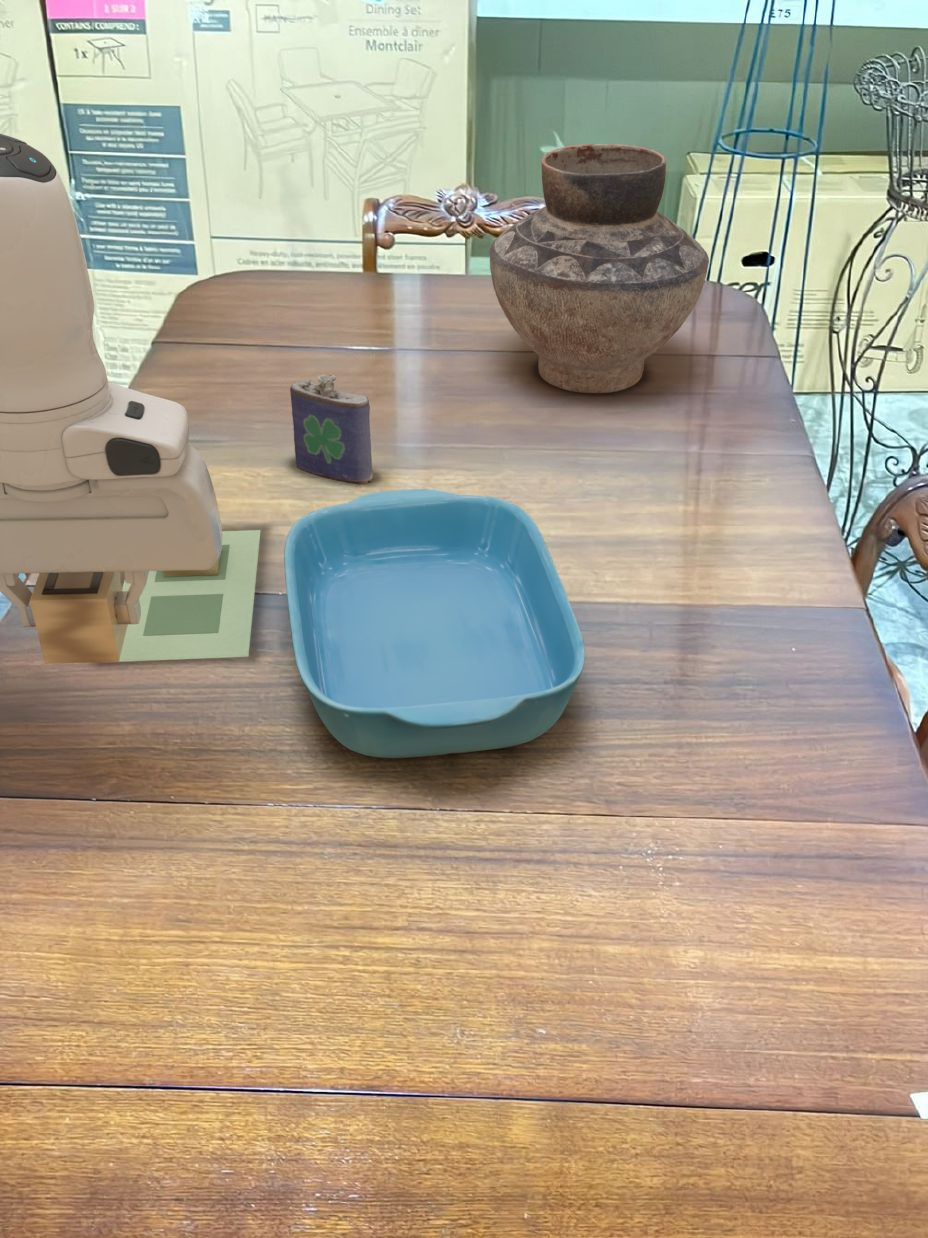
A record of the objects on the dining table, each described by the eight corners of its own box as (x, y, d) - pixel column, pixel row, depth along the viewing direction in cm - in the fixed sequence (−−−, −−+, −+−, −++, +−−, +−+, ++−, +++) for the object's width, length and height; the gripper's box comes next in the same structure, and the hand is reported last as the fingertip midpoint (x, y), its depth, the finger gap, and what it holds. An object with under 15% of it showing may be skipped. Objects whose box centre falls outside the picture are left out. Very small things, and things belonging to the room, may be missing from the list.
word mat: (104, 666, 105) (103, 661, 104) (136, 537, 121) (135, 533, 121) (249, 660, 105) (248, 655, 105) (261, 533, 122) (260, 529, 122)
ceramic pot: (445, 377, 151) (443, 159, 135) (570, 321, 165) (582, 118, 149) (613, 436, 139) (633, 204, 123) (733, 371, 153) (765, 155, 137)
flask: (378, 480, 130) (372, 378, 123) (362, 491, 129) (356, 389, 121) (304, 460, 134) (295, 361, 127) (288, 471, 132) (278, 370, 125)
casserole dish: (283, 560, 118) (276, 490, 113) (516, 543, 121) (518, 473, 116) (309, 813, 91) (300, 735, 86) (608, 783, 93) (616, 706, 89)
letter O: (44, 664, 86) (28, 599, 82) (57, 624, 89) (42, 560, 86) (119, 662, 86) (106, 597, 83) (128, 622, 90) (116, 559, 86)
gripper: (-146, 454, 74) (-83, 650, 83) (202, 449, 76) (227, 642, 85) (-117, 410, 79) (-60, 600, 88) (210, 406, 80) (233, 594, 89)
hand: (83, 621), depth 86 cm, fingers closed on letter O, 5 cm apart
